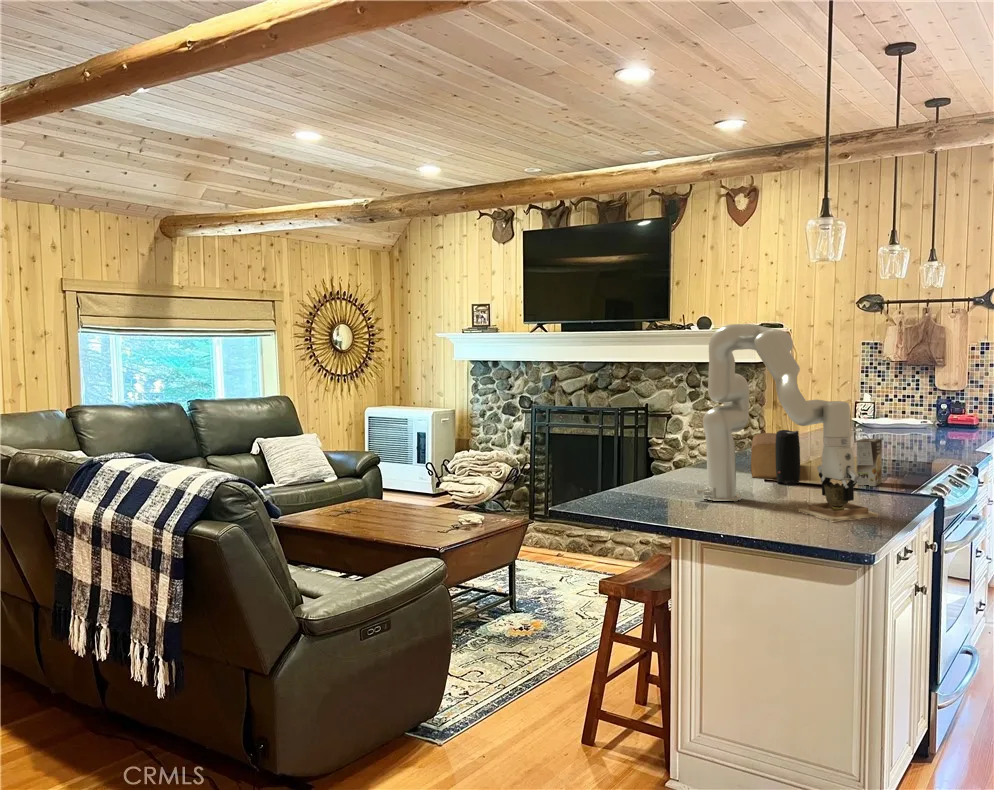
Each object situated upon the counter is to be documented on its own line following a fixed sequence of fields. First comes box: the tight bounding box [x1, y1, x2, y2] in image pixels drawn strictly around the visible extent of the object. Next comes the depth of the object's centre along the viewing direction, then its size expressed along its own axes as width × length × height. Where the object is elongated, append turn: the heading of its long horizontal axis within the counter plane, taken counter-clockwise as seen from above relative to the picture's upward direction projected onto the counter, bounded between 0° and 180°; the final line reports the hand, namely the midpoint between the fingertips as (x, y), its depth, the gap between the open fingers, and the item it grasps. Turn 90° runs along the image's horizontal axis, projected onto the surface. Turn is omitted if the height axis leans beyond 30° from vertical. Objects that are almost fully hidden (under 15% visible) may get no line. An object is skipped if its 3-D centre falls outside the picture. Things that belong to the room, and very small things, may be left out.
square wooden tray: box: [798, 502, 880, 521], centre depth 247 cm, size 16×16×2 cm
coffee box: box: [856, 438, 883, 487], centre depth 292 cm, size 9×6×16 cm
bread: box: [750, 432, 777, 479], centre depth 328 cm, size 14×34×14 cm, turn 162°
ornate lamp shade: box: [824, 482, 849, 511], centre depth 247 cm, size 8×7×8 cm
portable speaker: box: [775, 429, 801, 486], centre depth 299 cm, size 9×9×20 cm
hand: (837, 497), depth 247 cm, fingers open, 9 cm apart
